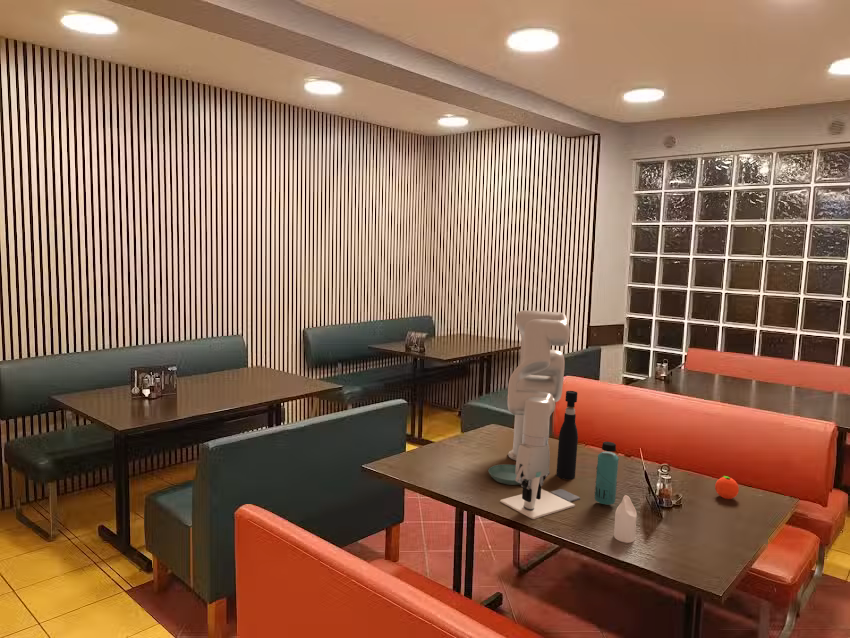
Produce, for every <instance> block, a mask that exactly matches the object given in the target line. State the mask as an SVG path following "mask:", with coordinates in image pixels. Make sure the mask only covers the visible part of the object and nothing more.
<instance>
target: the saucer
mask: <svg viewBox="0 0 850 638" xmlns="http://www.w3.org/2000/svg"><path fill="white" fill-rule="evenodd" d="M515 469H516V464H507V463H506V464H497V465H496V464H495V465H493V466H491V467H489V468H488V473H489V475H490V476H491V478H492V479H494V481H496V482H498V483H500V484H502V485H503V484H504V485H511V486H512V485H513V486H518V485H521V484H520V483H518V482H516V481H515V479H516V476H517V475H516V474H515ZM526 482H527V480H526Z"/></svg>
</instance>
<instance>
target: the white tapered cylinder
mask: <svg viewBox="0 0 850 638" xmlns="http://www.w3.org/2000/svg"><path fill="white" fill-rule="evenodd" d="M637 514H638V513H637V510H636V508H635V506H634V504H633V502H632V500H631V498H630V496H628V495H626V494H625V495H624V496H623V497H622V500H621V502H620V503H619V505H618V506H617V508H616V510H615V513H614V527H613V528H614V530H613V535H614V536H613V537H614V539H616V540H617V541H619V542H621V543H624V544H626V543H627V544H628V543H633V542H635V539H636V529H637V516H638V515H637Z"/></svg>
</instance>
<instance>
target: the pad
mask: <svg viewBox="0 0 850 638" xmlns="http://www.w3.org/2000/svg"><path fill="white" fill-rule="evenodd" d="M524 501H525V500H524V499H522V493H521V494H517V495H513V496H510V497H506V498H502V499H500V501H499V503H501V504H504V505H505V506H507V507H509V508H511V509H513V510H514V511H517V512H518V513H520V514H522V515H524V516H526V517H527V518H529V519H532V520H536V519H539V518H541V517H545V516H548V515H551V514H555V513H557V512H561V511H564V510H567V509H571V508H574V507H576V504H575V503H572V502H568V501H566V500H564V499H562V498H560V497H558V496H556V495H554V494H552V493H551V492H550V491H548V490H545V489H543V488H541V498H540V499H536V502H535V507H534V510H532V511H529V510H526V509H525V508H524V507H523V506H524Z"/></svg>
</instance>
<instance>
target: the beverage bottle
mask: <svg viewBox="0 0 850 638" xmlns="http://www.w3.org/2000/svg"><path fill="white" fill-rule="evenodd" d="M616 447H617V444H616V443H615V442H612V441H603V442H602V446H601V450H603V451H602V452H600V453H598V455H597V462H596V463H597V466H596V469H595V470H596V472H595V473H596V474H595V476H596V477H595V478H596V479H595V482H594V483H595V486H594V494H593V495H594V500H595V502H597V503H599V504H602V505H608V506H609V505H614V504H615V503H616V498H617V486H618V485H617V482H618V481H617V480H618V471H619V470H618V469H619V460H620V459H619V456H618V455H617V454H616V453H615V452H617V451H616V450H617V448H616Z"/></svg>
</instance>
